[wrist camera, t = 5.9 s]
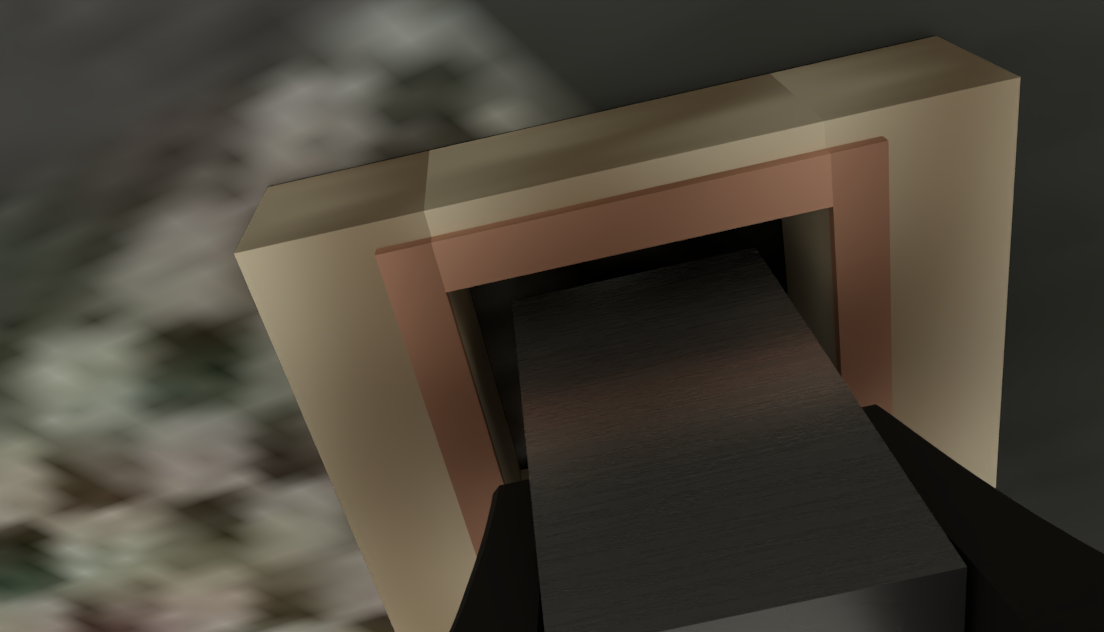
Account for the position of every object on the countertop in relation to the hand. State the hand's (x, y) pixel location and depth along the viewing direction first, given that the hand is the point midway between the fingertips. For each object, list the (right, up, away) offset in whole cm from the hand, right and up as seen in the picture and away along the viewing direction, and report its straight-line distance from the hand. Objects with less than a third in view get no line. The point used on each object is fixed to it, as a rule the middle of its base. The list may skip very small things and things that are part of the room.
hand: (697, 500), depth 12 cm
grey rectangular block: (0, +2, +3) cm, 4 cm away
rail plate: (+1, -2, +7) cm, 7 cm away
